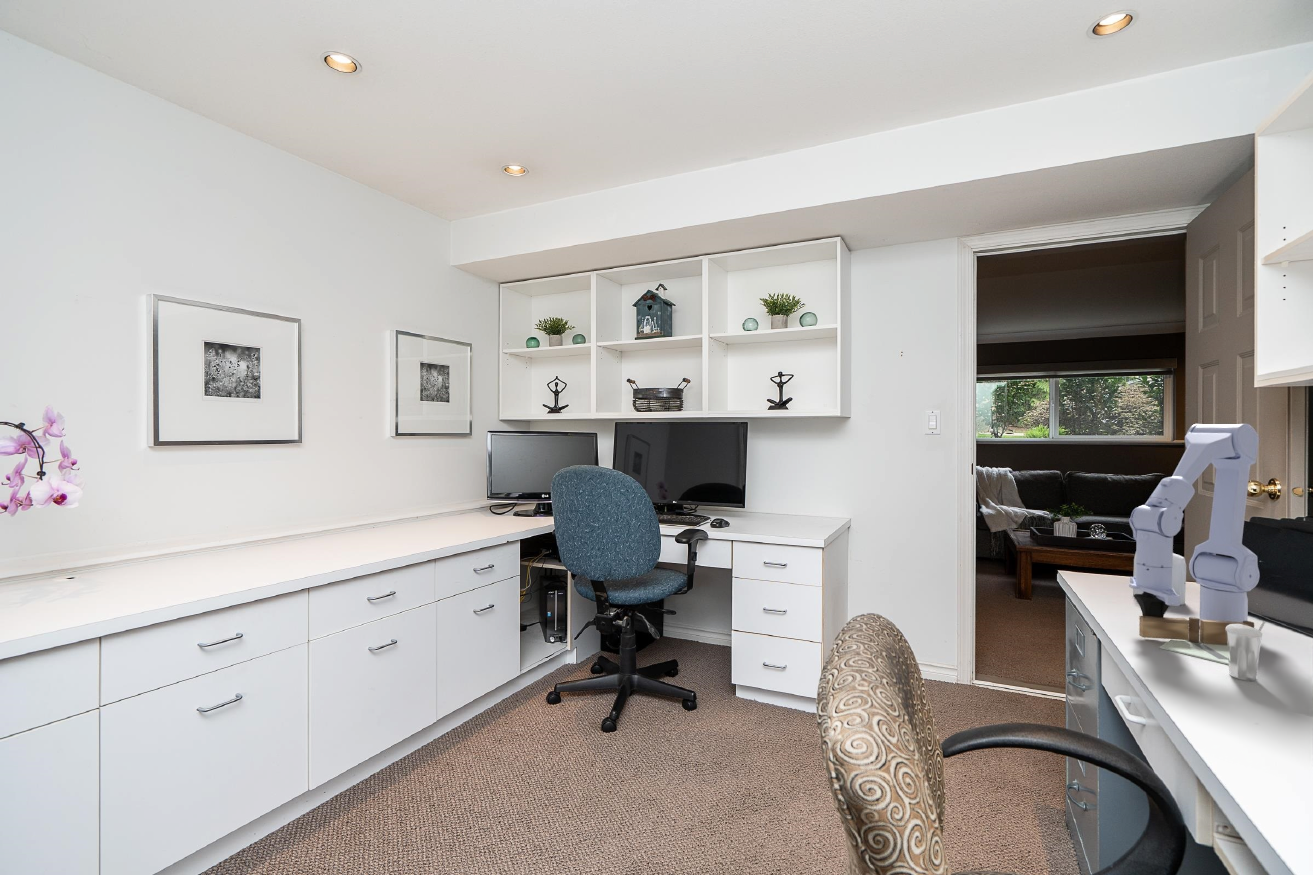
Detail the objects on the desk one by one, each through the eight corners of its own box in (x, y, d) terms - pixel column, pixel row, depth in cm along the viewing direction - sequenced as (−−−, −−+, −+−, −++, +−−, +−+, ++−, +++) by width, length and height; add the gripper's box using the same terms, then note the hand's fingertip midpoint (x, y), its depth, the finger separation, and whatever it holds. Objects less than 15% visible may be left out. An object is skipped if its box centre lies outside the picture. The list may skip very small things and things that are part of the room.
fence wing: (1184, 637, 120) (1184, 618, 120) (1188, 640, 119) (1188, 620, 119) (1139, 635, 122) (1139, 615, 122) (1143, 637, 120) (1143, 617, 120)
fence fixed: (1186, 641, 120) (1187, 616, 120) (1250, 646, 118) (1250, 620, 117) (1191, 643, 119) (1191, 619, 119) (1255, 649, 116) (1256, 623, 116)
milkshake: (1274, 684, 100) (1275, 625, 100) (1237, 681, 101) (1238, 623, 101) (1253, 673, 105) (1254, 617, 105) (1217, 670, 106) (1218, 615, 106)
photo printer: (1187, 602, 146) (1188, 552, 146) (1182, 605, 144) (1183, 555, 143) (1136, 593, 155) (1136, 545, 154) (1130, 595, 152) (1131, 547, 152)
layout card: (1184, 632, 125) (1184, 630, 125) (1257, 648, 116) (1257, 646, 116) (1160, 648, 117) (1159, 646, 117) (1236, 666, 108) (1236, 665, 108)
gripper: (1114, 555, 130) (1113, 617, 130) (1150, 571, 116) (1148, 640, 116) (1152, 557, 128) (1151, 620, 128) (1193, 574, 114) (1192, 644, 114)
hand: (1152, 630), depth 122 cm, fingers closed, pressing on fence wing
